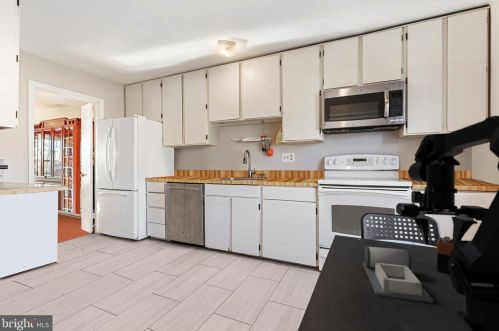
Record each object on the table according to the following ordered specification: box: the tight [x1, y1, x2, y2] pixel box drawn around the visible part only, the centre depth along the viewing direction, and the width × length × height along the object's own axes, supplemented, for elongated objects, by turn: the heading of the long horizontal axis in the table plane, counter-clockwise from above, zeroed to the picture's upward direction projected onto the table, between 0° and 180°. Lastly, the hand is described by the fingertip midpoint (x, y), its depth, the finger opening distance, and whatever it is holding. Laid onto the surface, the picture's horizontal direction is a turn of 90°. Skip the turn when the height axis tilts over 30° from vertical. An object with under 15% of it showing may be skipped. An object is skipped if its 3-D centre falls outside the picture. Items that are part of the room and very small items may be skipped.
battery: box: [436, 235, 454, 275], centre depth 76 cm, size 4×7×10 cm, turn 138°
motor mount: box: [362, 245, 434, 304], centre depth 69 cm, size 20×12×7 cm, turn 164°
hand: (440, 245), depth 63 cm, fingers open, 6 cm apart
